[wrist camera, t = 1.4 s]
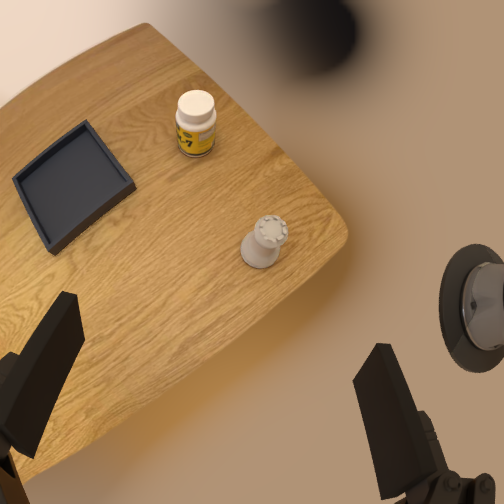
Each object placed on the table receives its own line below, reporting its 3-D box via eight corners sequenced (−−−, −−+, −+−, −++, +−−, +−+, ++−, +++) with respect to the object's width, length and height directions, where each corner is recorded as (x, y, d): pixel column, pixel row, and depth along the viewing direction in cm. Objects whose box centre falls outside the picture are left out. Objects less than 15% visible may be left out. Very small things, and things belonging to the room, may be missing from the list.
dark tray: (136, 189, 37) (133, 181, 34) (55, 255, 33) (47, 251, 31) (90, 127, 38) (86, 118, 36) (18, 184, 34) (11, 178, 32)
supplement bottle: (171, 140, 39) (166, 99, 31) (200, 123, 40) (201, 81, 32) (191, 165, 38) (190, 124, 30) (221, 146, 40) (226, 105, 32)
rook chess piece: (283, 263, 37) (303, 244, 29) (246, 274, 36) (258, 257, 28) (271, 227, 38) (287, 200, 30) (235, 237, 37) (243, 211, 29)
